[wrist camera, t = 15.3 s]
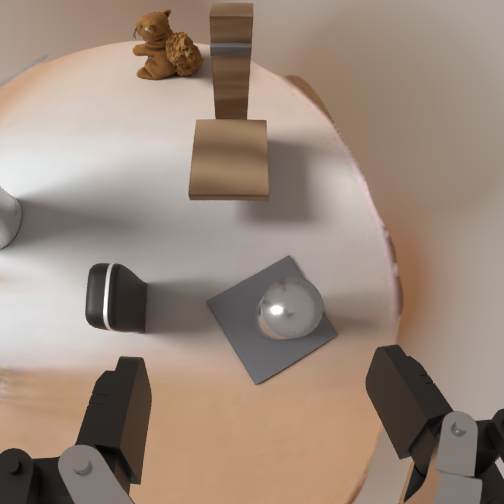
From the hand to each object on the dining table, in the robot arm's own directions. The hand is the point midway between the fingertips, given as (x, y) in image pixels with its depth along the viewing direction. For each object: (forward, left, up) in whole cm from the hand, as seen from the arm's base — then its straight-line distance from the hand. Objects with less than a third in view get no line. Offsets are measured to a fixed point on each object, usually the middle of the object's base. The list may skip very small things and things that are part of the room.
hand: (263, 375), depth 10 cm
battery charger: (-10, +12, -29) cm, 33 cm away
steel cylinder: (+5, +2, -28) cm, 29 cm away
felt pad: (+5, +2, -29) cm, 29 cm away
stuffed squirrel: (+13, +49, -29) cm, 59 cm away
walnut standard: (+11, +22, -29) cm, 38 cm away
